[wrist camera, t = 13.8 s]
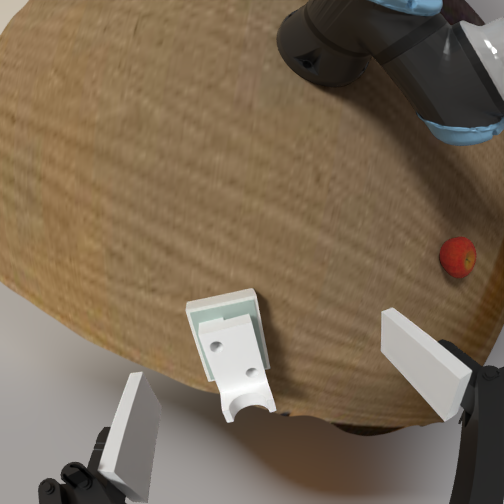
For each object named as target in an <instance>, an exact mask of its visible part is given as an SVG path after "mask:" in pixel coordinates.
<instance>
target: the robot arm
mask: <svg viewBox="0 0 504 504" xmlns="http://www.w3.org/2000/svg"><path fill="white" fill-rule="evenodd" d="M442 4H443V3H442V0H309V1H308V2H307V4H305V5H304V6H302V7H301V8H299V9H298V10H296V11H294V12H292V13H291V14H289V15H288V16H287V17H286V18H285V19H284V20H283V22H282V24H281V26H280V28H279V30H278V33H277V46H278V50H279V52H280V54H281V56H282V58H283V59H284V61H285V62H286V63H287V65H288V66H289V67H290V68H291V69H292V70H293V71H295V72H296V73H297V74H298V75H300V76H301V77H303V78H305V79H307V80H309V81H311V82H313V83H316V84H319V85H323V86H329V87H339V86H344V85H347V84H349V83H351V82H353V81H354V80H356V79H357V78H359V77H360V76H361V75H362V74H363V73H364V71H365V70H366V68H367V66H368V63H369V60H370V59H371V57H372V56H373V57H374V59H375V60H376V61H377V62H378V63H379V64H380V65H381V67H382V68H383V69H384V70H385V71H386V73H387V74H388V75H389V76H390V77H391V79H392V80H393V81H394V82H395V84H396V85H397V86H398V87H399V89H400V90H401V91H402V93H403V94H404V95H405V97H406V98H407V99H408V101H409V102H410V104H411V105H412V106H413V108H414V109H415V111H416V114H417V115H418V117H419V118H420V119H421V120H422V121H424V123H425V124H426V125H427V127H428V128H429V130H430V131H431V133H432V134H433V135H434V136H435V137H436V138H437V139H439V140H441V141H443V142H444V143H447V144H450V145H456V146H467V145H475V144H479V143H483V142H485V141H488V140H490V139H492V137H493V136H492V135H498V134H499V133H501V132H502V131H503V129H504V17H501V18H499V19H497V20H495V21H492V22H490V23H488V24H486V25H484V26H476V25H473V24H470V23H468V22H465V21H460V22H458V23H456V24H454V25H452V26H450V25H449V23H448V22H447V21H446V20H445V19H444V17H443V16H442V15H441V14H440V13H439V12H440V11H441V8H442ZM381 352H382V353H383V354H384V355H385V356H386V357H387V358H388V359H389V360H390V362H391V363H392V364H393V365H394V366H395V367H396V368H397V369H398V370H399V371H400V372H401V373H402V375H403V376H404V377H405V378H406V379H407V380H408V381H409V382H410V383H411V384H412V386H413V387H414V388H415V389H416V390H417V391H418V392H419V393H420V394H421V396H422V397H423V398H424V399H425V400H426V401H427V402H428V403H429V405H430V406H431V407H432V408H433V409H434V410H435V411H436V412H437V414H438V415H439V416H440V417H441V418H442V419H443V420H444V422H445V421H447V420H448V419H450V418H451V417H453V416H454V415H456V414H457V412H458V410H459V407H460V405H461V406H462V407H463V408H464V411H463V413H462V416H461V418H460V420H459V424H460V423H461V421H462V431H461V441H460V450H459V457H458V463H457V470H456V475H455V480H454V485H453V490H452V494H451V498H450V502H449V504H503V500H504V367H502V368H499V369H498V368H497V367H494V366H484V367H482V366H481V365H479V364H478V363H477V362H476V361H474V360H473V359H472V358H471V357H469V356H468V355H467V354H466V353H463V351H462V350H460V349H458V347H457V346H455V345H454V344H453V343H451V342H449V341H446V340H443V339H442V340H440V341H438V342H437V341H435V340H434V339H433V338H432V337H430V336H429V335H428V334H426V333H425V332H424V331H423V330H421V329H420V328H419V327H418V326H416V325H415V324H414V323H412V322H411V321H410V320H409V319H407V318H406V317H405V316H403V315H402V314H401V313H399V312H398V311H397V310H395V309H394V308H390V309H387V310H385V311H382V325H381ZM161 410H162V406H161V404H160V403H159V401H158V399H157V397H156V396H155V394H154V392H153V390H152V388H151V387H150V385H149V383H148V381H147V379H146V377H145V375H144V373H143V372H137V373H131V374H130V376H129V378H128V381H127V384H126V386H125V389H124V392H123V395H122V397H121V400H120V403H119V406H118V409H117V412H116V414H115V417H114V420H113V423H112V426H111V427H104V428H103V430H102V431H101V432H100V433H99V435H98V437H97V440H96V444H95V446H94V450H93V452H92V455H91V458H90V461H89V464H88V467H87V468H86V467H85V466H83V464H81V463H79V462H71V463H69V464H67V465H66V466H65V467H64V468H63V469H62V472H61V479H62V480H63V481H64V482H65V483H66V484H59V483H58V482H57V481H56V480H55V479H52V478H47V479H45V480H43V481H42V482H41V483H40V485H39V488H38V493H39V504H126V503H125V498H126V497H127V498H129V499H130V500H131V501H133V502H146V503H147V502H148V495H149V487H150V479H151V472H152V465H153V458H154V452H155V445H156V439H157V433H158V427H159V421H160V415H161Z"/></svg>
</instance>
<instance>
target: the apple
mask: <svg viewBox="0 0 504 504" xmlns="http://www.w3.org/2000/svg"><path fill="white" fill-rule="evenodd" d="M475 261H476V250H475V247H474V245H473V243H472V242H471V241H470V240H469V239H467V238H465V237H456V238H452V239H449V240H447V241H446V242H445V243H444V244H443V245H442V247H441V250H440V262H441V265H442V266H443V268H444V269H445V270H446V271H447V273H448V274H449V275H451V276H453V277H455V278H463V277H465V276H467V275H468V274H469V273H470V272H471V271H472V269H473V267H474V265H475Z"/></svg>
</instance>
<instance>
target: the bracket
mask: <svg viewBox="0 0 504 504" xmlns="http://www.w3.org/2000/svg"><path fill="white" fill-rule="evenodd" d="M198 336H199V339H200V341H201V344H202V347H203V350H204V352H205V355H206V358H207V360H208V363H209V366H210V368H211V371H212V373H213V376H214V378H215V381H216V383H217V386H218V388H219V391H220V393H221V404H222V412H223V414H224V416H225V418H226V420H227V422H233V421H234V417H235V415H236V413H237V412H238V411H239V410H240V409H242V408H244V407H246V406H249V405H262V406H265V407H266V408H267V409H268V410H269V411H270V412H274V411H277V410H276V407H275V403H274V399H273V396H272V393H271V390H270V387H269V384H268V381H267V378H266V374H265V370H264V366H263V363H262V359H261V355H260V352H259V348H258V344H257V340H256V336H255V333H254V329H253V325H252V321H251V318H250V315H249V314H246V315H242V316H238V317H234V318H230V319H226V320H224V318H223V317H222V318H218V319H214V320H210V321H206V322H202V323H199V331H198Z"/></svg>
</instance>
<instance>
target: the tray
mask: <svg viewBox="0 0 504 504" xmlns="http://www.w3.org/2000/svg"><path fill="white" fill-rule="evenodd" d="M186 313H187V316H188V320H189V323H190V326H191V330H192V333H193V336H194V339H195V342H196V345H197V349H198V352H199V355H200V358H201V361H202V364H203V367H204V369H205V372H206V375H207V378H208V381H215V378H214V376H213V373H212V371H211V368H210V366H209V363H208V360H207V358H206V355H205V352H204V350H203V347H202V344H201V341H200V339H199V336H198V331H199V323H202V322H206V321H210V320H214V319H218V318H222V317H223V318H224V320H226V319H230V318H234V317H238V316H242V315H246V314H249V315H250V318H251V321H252V325H253V329H254V333H255V336H256V340H257V344H258V348H259V352H260V355H261V359H262V363H263V366H264V370H266V369H270V364H269V359H268V353H267V348H266V343H265V338H264V333H263V328H262V322H261V317H260V312H259V307H258V302H257V296H256V293H255V291H254V289H253V288H251V289H246V290H242V291H237V292H232V293H228V294H223V295H218V296H214V297H209V298H204V299H199V300H194V301H189V302H187V305H186Z"/></svg>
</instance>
